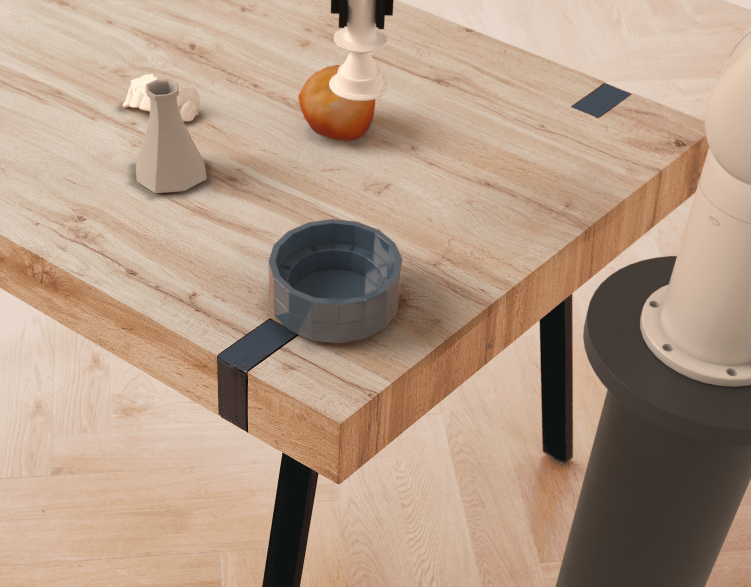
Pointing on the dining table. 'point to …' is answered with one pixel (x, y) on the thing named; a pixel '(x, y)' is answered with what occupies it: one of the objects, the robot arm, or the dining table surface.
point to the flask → (167, 144)
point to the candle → (360, 54)
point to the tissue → (139, 98)
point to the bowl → (335, 280)
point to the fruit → (333, 108)
